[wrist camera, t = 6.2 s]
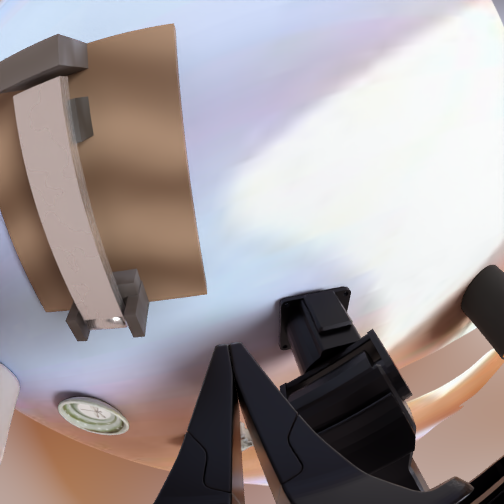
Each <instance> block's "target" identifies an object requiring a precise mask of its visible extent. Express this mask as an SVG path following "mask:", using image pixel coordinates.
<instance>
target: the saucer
mask: <svg viewBox="0 0 504 504" xmlns="http://www.w3.org/2000/svg"><path fill="white" fill-rule="evenodd" d="M58 411H59V413H60V415H61V416H62V417H63V418H64V419H65V420H67V421H68V422H69V423H71V424H73V425H74V426H76V427H78V428H80V429H83V430H86V431H89V432H92V433H96V434H102V435H119V434H122V433H125V432H126V431H128V429H129V423H128V421H127V419H126V418H125V417H124V416H123V415H122V414H121V413H120V412H119V411H117V410H116V409H115V408H113V407H112V406H110V405H109V404H107V403H106V402H104V401H102V400H99V399H96V398H92V397H73V398H69V399H67V400H63V401H61V402H60V403H59V405H58Z"/></svg>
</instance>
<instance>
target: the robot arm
mask: <svg viewBox="0 0 504 504" xmlns="http://www.w3.org/2000/svg"><path fill="white" fill-rule="evenodd" d="M350 295H351V291H350V289H349V288H348V287H342V288H337V289H332V290H327V291H321V292H316V293H311V294H305V295H300V296H294V297H288V298H284V299H282V300H281V301H280V326H279V346H280V349H281V350H287V349H292V352H293V354H294V357H295V360H296V363H297V365H298V368H299V371H300V374H301V376H299V377H298V378H296V379H294V380H292V381H291V382H289V383H285V384H283V385H281V386H280V391H279V390H278V388H277V387H276V386H275V385H274V383H273V382H272V381H271V380H270V378H269V377H268V376H267V375H266V373H265V372H264V371H263V370H262V368H261V367H260V366H259V364H258V363H257V362H256V361H255V359H254V358H253V357H252V356H251V354H250V353H249V352H248V350H247V349H246V348H245V346H244V345H243V344H242V343H241V342H236V343H230V344H229V346H228V344H223V345H217V346H216V347H215V349H214V352H213V355H212V358H211V361H210V364H209V367H208V370H207V373H206V376H205V379H204V382H203V385H202V388H201V391H200V394H199V397H198V399H197V402H196V405H195V408H194V411H193V414H192V417H191V420H190V423H189V426H188V429H187V431H188V432H186V435H185V438H184V441H183V444H182V446H181V449H180V451H179V454H178V457H177V459H176V461H175V463H174V465H173V467H172V469H171V471H170V473H169V475H168V477H167V479H166V481H165V483H164V485H163V487H162V489H161V491H160V493H159V495H158V497H157V498H156V500H155V502H154V503H153V504H245V499H244V484H243V468H242V451H241V433H240V414H239V404H240V407H241V411H242V413H243V416H244V419H245V422H246V425H247V428H248V431H249V434H250V436H251V439H252V442H253V445H254V447H255V450H256V453H257V456H258V458H259V461H260V464H261V466H262V469H263V471H264V474H265V477H266V479H267V482H268V484H269V487H270V489H271V492H272V494H273V497H274V499H275V502H276V504H504V455H503V456H502V457H501V458H499V459H498V460H497V461H496V462H494V463H493V464H492V465H491V466H489V467H488V468H487V469H485V470H484V471H483V472H482V473H480V474H479V475H478V476H476V477H475V478H474V479H472V480H471V481H470V482H466V481H464V480H462V479H460V478H458V477H453V478H451V479H449V480H447V481H445V482H443V483H442V484H440V485H438V486H436V487H434V488H432V489H429V487H428V485H427V484H426V482H425V480H424V478H423V476H422V475H421V472H420V471H419V469H418V467H417V465H416V463H415V461H414V460H413V458H412V455H413V451H414V450H415V438H416V437H415V434H416V425H415V422H414V419H413V416H412V413H411V411H410V408H409V407H408V405H407V403H406V402H405V399H408V398H409V397H410V396H412V393H411V391H410V389H409V387H408V386H407V384H406V382H405V380H404V379H403V377H402V375H401V373H400V372H399V370H398V368H397V367H396V365H395V363H394V362H393V360H392V358H391V357H390V355H389V354H388V352H387V350H386V349H385V347H384V346H383V344H382V342H381V341H380V339H379V338H378V336H377V335H376V333H375V332H374V330H373V329H372V330H370V331H369V332H367V334H366V335H365V336H363V337H362V338H361V337H360V335H359V333H358V332H357V330H356V328H355V326H354V325H353V323H352V320H351V318H350V317H349V315H348V313H347V309H348V305H349V300H350ZM286 303H288V304H286ZM285 304H286V305H285ZM229 350H230V351H229ZM230 356H231V357H230ZM233 373H234V374H233ZM235 384H236V385H235ZM237 395H238V396H237ZM238 400H239V402H238Z"/></svg>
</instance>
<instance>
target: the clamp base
mask: <svg viewBox="0 0 504 504" xmlns="http://www.w3.org/2000/svg"><path fill="white" fill-rule="evenodd" d="M59 76H68V85H69V94H70V102H71V110H72V117H73V123H74V129H75V135H76V141H77V146H78V151H79V156H80V161H81V166H82V170H83V175H84V179H85V183H86V187H87V191H88V195H89V199H90V203H91V207H92V210H93V214H94V217H95V221H96V224H97V227H98V231H99V234H100V237H101V240H102V244H103V247H104V250H105V253H106V256H107V259H108V261H109V264H110V267H111V270H112V273H113V276H114V278H115V281H116V284H117V286H118V289H119V291H120V294H121V297H122V299H123V302H124V304H125V312H124V317H125V320H126V322H127V324H128V326H129V329H130V331H131V333H132V335H133V337H144V336H145V330H146V322H147V314H148V306H149V302H151V301H159V300H167V299H175V298H183V297H190V296H197V295H205V294H207V286H206V278H205V273H204V267H203V261H202V255H201V249H200V243H199V237H198V231H197V224H196V218H195V211H194V204H193V197H192V190H191V183H190V176H189V168H188V160H187V152H186V144H185V135H184V126H183V116H182V107H181V96H180V85H179V73H178V60H177V46H176V30H175V26H174V23H173V24H167V25H161V26H155V27H150V28H145V29H140V30H135V31H131V32H127V33H122V34H118V35H115V36H111V37H107V38H104V39H100V40H97V41H94V42H90V43H84V42H81V41H78V40H75V39H72V38H69V37H66V36H63V35H60V34H57V35H54V36H52V37H49V38H47V39H45V40H43V41H40V42H38V43H36V44H34V45H32V46H30V47H27V48H25V49H23V50H21V51H19V52H18V53H16V54H14V55H12V56H10V57H8V58H6V59H5V60H3V61H1V62H0V209H1V212H2V215H3V218H4V221H5V224H6V227H7V229H8V232H9V235H10V237H11V240H12V242H13V245H14V247H15V250H16V252H17V254H18V257H19V259H20V261H21V264H22V266H23V268H24V270H25V272H26V274H27V277H28V279H29V281H30V283H31V285H32V287H33V289H34V291H35V293H36V295H37V297H38V298H39V300H40V302H41V304H42V306H43V308H44V310H45V311H46V312H56V311H67V310H70V311H69V314H68V316H67V319H66V322H67V324H68V326H69V327H70V329H71V331H72V333H73V334H74V336H75V338H76V339H77V341H87V339H88V336H89V332H90V330H89V329H88V328H87V326H86V323H85V321H84V320H83V318H82V316H81V314H80V312H79V310H78V308H77V306H76V304H75V302H74V300H73V298H72V296H71V294H70V292H69V289H68V287H67V285H66V283H65V281H64V278H63V276H62V274H61V272H60V269H59V267H58V265H57V262H56V260H55V257H54V255H53V252H52V250H51V247H50V245H49V242H48V239H47V237H46V234H45V231H44V228H43V225H42V222H41V220H40V217H39V213H38V210H37V207H36V204H35V201H34V197H33V194H32V190H31V187H30V183H29V179H28V176H27V172H26V167H25V163H24V159H23V154H22V150H21V145H20V140H19V134H18V128H17V122H16V116H15V108H14V100H13V96H15V95H17V94H19V93H21V92H23V91H25V90H27V89H30V88H32V87H34V86H37V85H39V84H41V83H44V82H46V81H49V80H51V79H54V78H56V77H59Z"/></svg>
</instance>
